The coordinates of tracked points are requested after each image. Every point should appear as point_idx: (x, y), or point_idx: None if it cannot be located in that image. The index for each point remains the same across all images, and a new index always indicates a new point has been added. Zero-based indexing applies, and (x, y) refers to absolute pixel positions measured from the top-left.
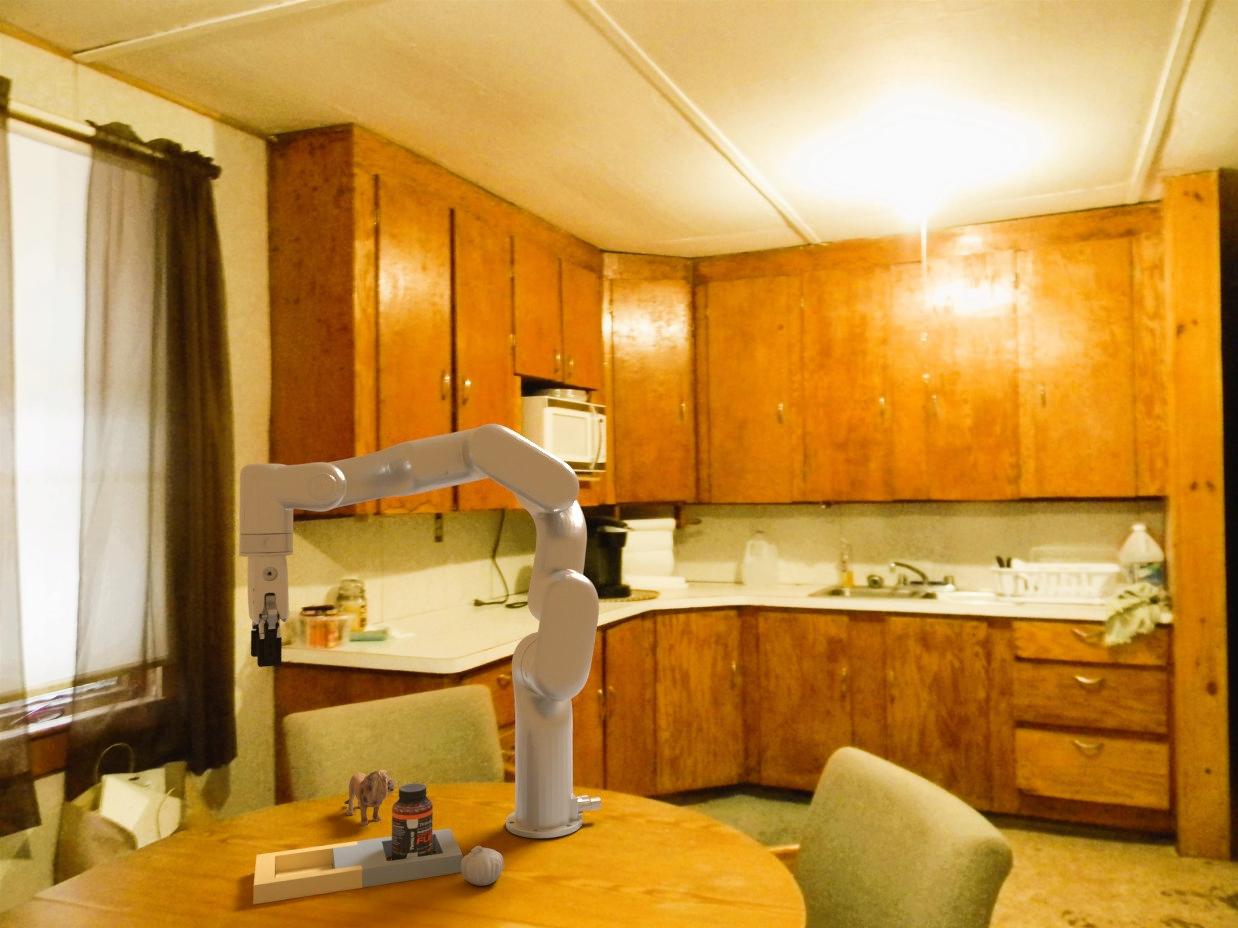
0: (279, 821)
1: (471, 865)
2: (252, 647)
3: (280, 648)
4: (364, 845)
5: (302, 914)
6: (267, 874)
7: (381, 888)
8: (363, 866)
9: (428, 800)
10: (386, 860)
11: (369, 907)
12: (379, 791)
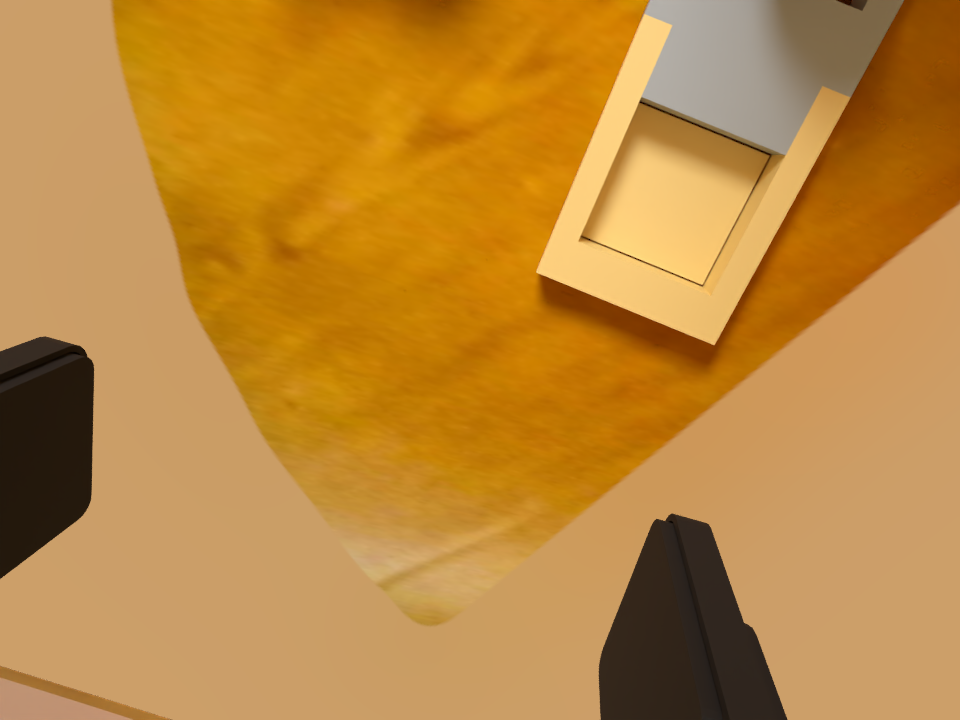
0: (231, 88)
1: None
2: (24, 554)
3: (738, 638)
4: (694, 10)
5: (844, 274)
6: (678, 299)
7: (879, 60)
8: (835, 85)
9: None
10: (854, 8)
11: (951, 138)
12: None
